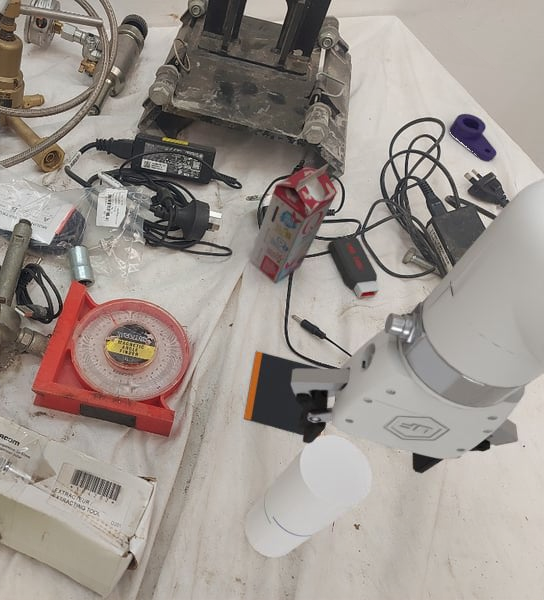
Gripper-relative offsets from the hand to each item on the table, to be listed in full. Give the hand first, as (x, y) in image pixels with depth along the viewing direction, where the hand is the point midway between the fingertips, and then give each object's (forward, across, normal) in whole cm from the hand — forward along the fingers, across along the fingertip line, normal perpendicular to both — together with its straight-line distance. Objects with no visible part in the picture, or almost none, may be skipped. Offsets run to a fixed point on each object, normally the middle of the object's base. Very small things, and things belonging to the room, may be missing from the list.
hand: (361, 441), depth 51 cm
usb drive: (+32, +10, +48) cm, 59 cm away
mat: (+32, +1, +20) cm, 38 cm away
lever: (+33, +34, +92) cm, 104 cm away
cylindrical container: (+32, 0, 0) cm, 32 cm away
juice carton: (+33, -4, +46) cm, 56 cm away
